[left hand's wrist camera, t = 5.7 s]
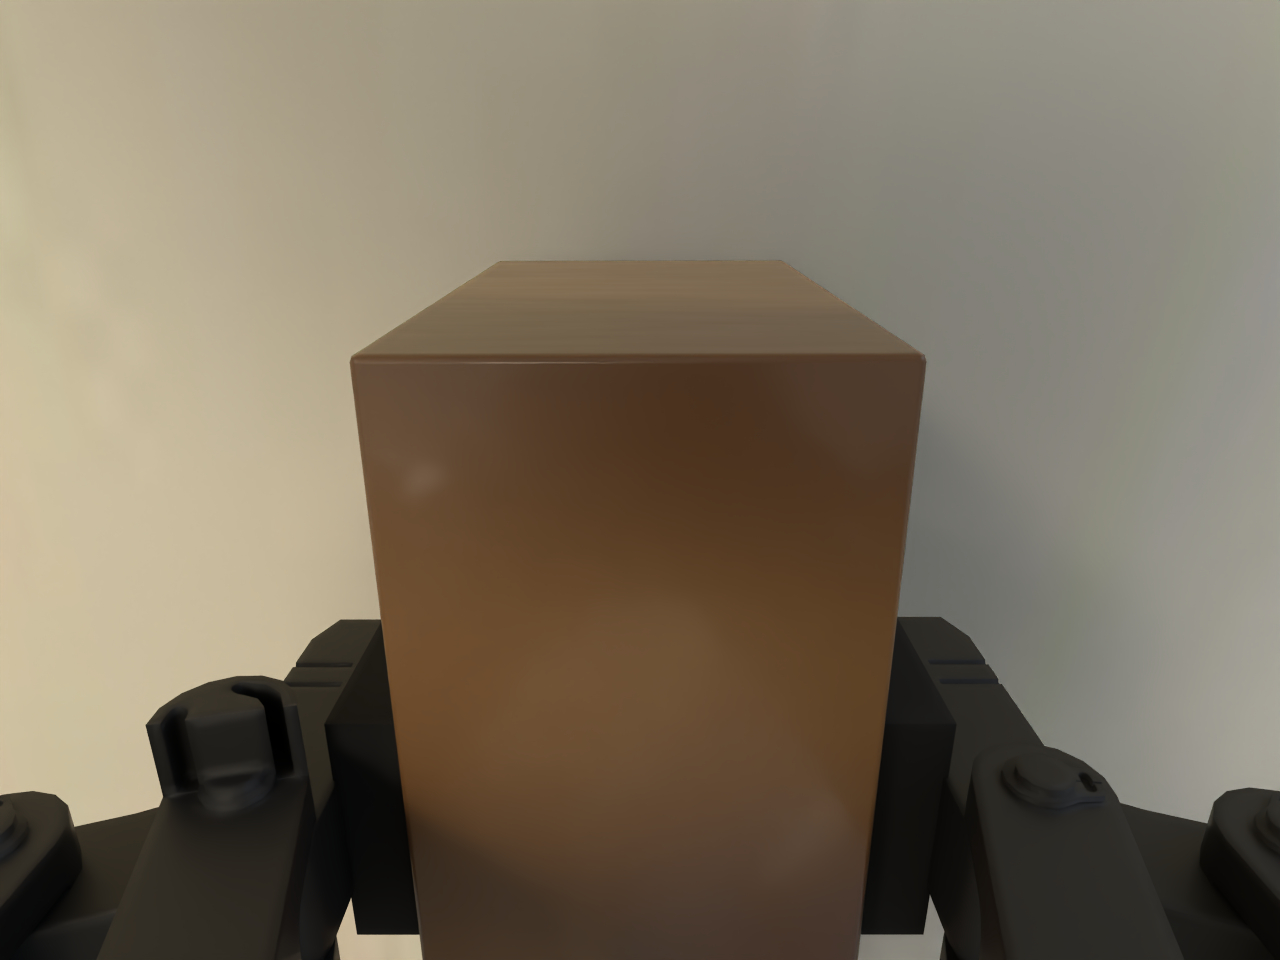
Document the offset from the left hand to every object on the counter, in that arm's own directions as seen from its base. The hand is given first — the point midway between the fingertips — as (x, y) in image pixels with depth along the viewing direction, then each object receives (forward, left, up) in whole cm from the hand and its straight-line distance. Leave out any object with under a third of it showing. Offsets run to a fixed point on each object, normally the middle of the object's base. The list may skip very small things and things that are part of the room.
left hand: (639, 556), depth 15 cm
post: (+21, -15, -1) cm, 25 cm away
